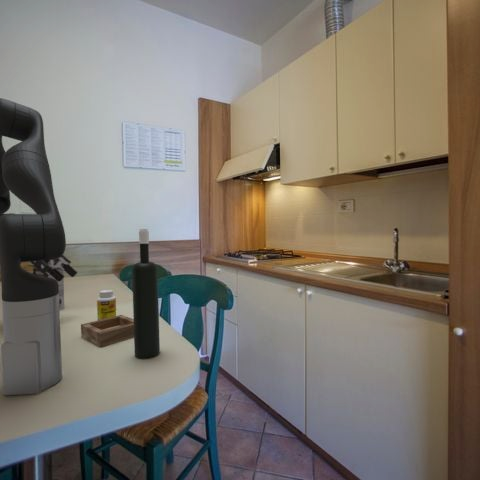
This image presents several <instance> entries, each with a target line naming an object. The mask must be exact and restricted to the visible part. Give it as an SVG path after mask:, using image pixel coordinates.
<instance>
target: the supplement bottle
mask: <svg viewBox="0 0 480 480" xmlns="http://www.w3.org/2000/svg"><path fill="white" fill-rule="evenodd" d="M96 310H97V314H96V315H97V321H98V320H102V319H106V318H110V317H115V316H117V298H116V296H115V295H114V290H111V289H104V290H100V291H99V296H98V297H97V298H96Z"/></svg>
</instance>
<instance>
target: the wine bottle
mask: <svg viewBox="0 0 480 480" xmlns="http://www.w3.org/2000/svg"><path fill="white" fill-rule="evenodd" d="M148 230H149V229H148V228H140V229H139V231H138V241H139V262H137V263H135V264H134V265H132V268H131V274H132V275H131V279H132V308H133V319H134V337H133V339H134V341H133V342H134V346H133V347H134V357H135V358H137V359H140V360H144V359H145V360H147V359H152V358H154V357H157V356H158V355H160V352H161V351H160V348H161V347H160V316H159V315H160V313H159V311H160V310H159V281H158V279H159V278H158V276H159V275H158V274H159V273H158V265H157V264H155V263H154V262H153V261H150V255H149V254H150V253H149V252H150V249H149V245H150V240H149V239H150V235H149V234H150V233H149V231H148Z"/></svg>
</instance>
